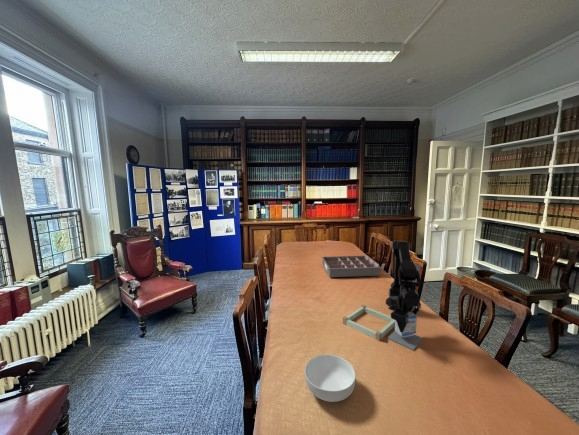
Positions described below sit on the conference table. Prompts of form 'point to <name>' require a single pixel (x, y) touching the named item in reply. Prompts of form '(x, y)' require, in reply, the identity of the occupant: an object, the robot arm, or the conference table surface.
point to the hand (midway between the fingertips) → (405, 327)
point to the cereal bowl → (330, 377)
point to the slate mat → (406, 340)
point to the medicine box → (408, 326)
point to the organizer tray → (351, 266)
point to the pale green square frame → (367, 331)
